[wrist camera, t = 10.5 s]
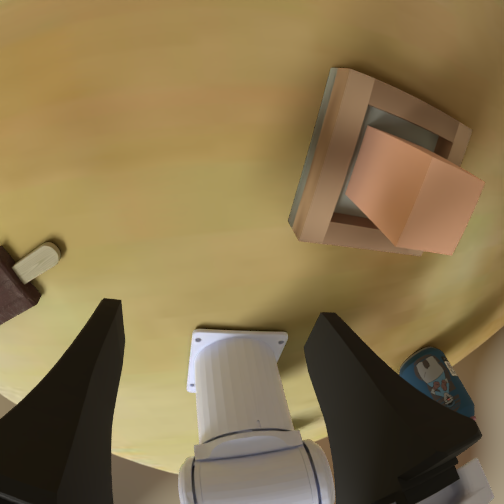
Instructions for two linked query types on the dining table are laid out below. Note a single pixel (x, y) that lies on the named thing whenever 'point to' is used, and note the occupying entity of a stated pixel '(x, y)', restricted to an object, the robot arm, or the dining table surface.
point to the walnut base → (347, 149)
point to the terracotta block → (412, 193)
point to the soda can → (437, 380)
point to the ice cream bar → (23, 279)
